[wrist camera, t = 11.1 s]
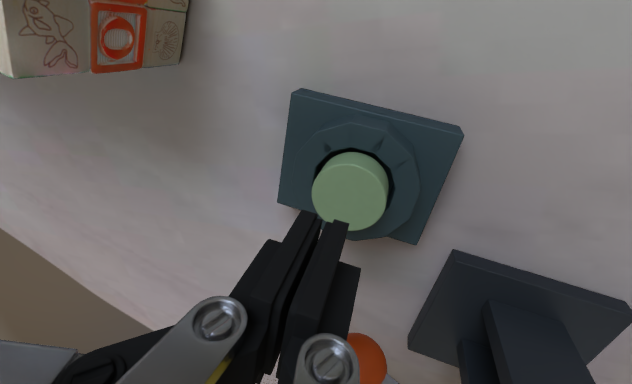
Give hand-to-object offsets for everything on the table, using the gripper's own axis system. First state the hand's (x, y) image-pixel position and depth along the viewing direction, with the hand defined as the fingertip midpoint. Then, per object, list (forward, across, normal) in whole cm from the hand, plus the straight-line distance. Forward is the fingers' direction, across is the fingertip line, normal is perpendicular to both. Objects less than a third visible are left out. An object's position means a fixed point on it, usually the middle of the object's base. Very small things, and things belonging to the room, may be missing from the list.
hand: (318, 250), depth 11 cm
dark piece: (+9, 0, 0) cm, 9 cm away
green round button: (+6, 0, 0) cm, 6 cm away
